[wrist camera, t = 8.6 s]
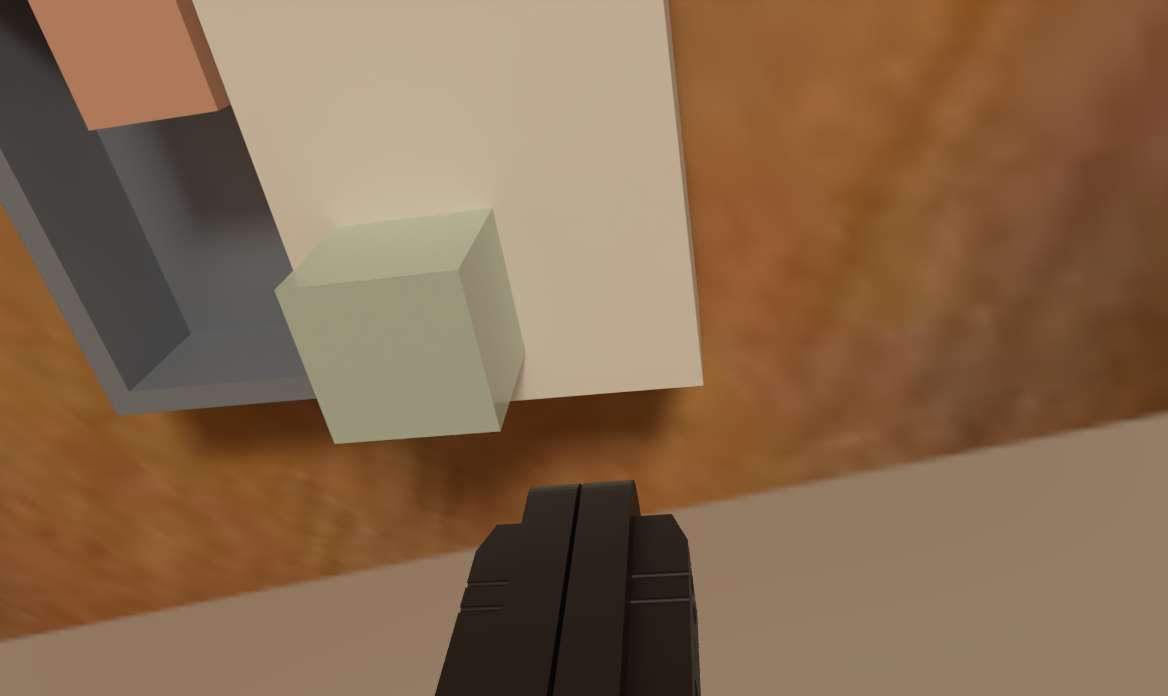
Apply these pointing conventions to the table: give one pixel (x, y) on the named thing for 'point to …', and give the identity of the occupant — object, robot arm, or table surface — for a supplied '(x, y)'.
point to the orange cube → (132, 59)
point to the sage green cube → (407, 327)
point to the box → (146, 241)
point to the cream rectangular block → (489, 157)
